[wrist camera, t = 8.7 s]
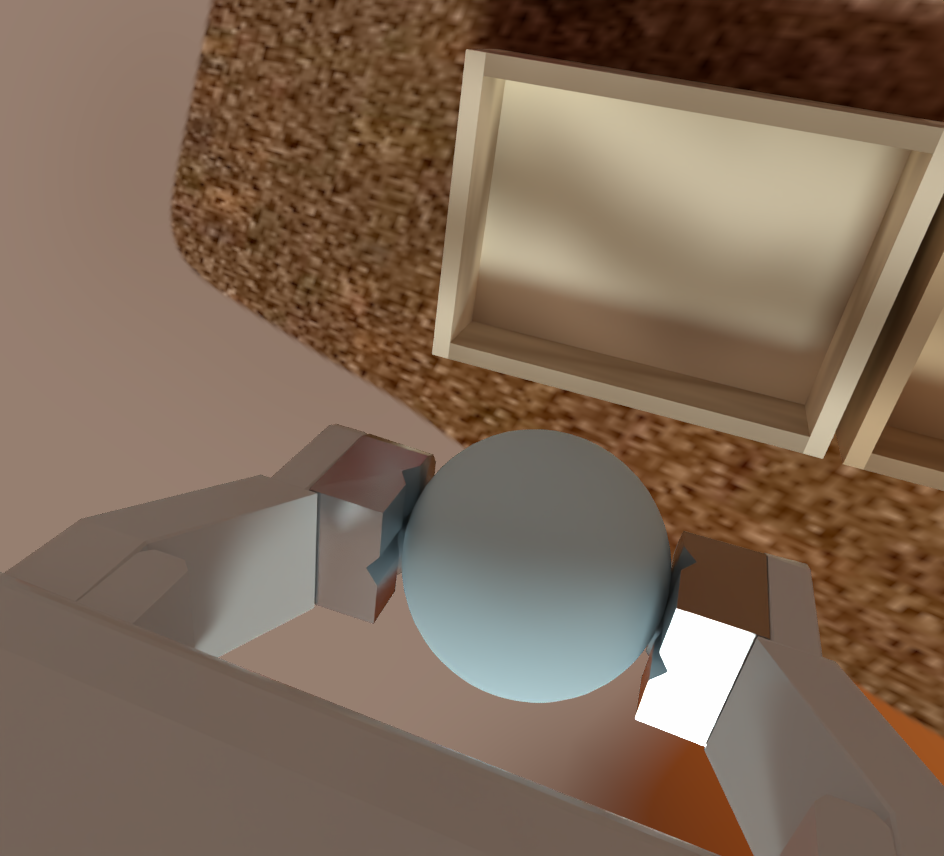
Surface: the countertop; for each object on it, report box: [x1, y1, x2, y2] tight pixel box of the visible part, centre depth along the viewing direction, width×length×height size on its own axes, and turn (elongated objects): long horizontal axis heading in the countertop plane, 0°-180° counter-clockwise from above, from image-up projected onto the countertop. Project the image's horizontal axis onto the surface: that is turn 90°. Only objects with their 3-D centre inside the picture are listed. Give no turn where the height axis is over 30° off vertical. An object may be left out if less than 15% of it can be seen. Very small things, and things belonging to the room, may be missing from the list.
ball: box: [402, 430, 671, 703], centre depth 9 cm, size 3×3×3 cm
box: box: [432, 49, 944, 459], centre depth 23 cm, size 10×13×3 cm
